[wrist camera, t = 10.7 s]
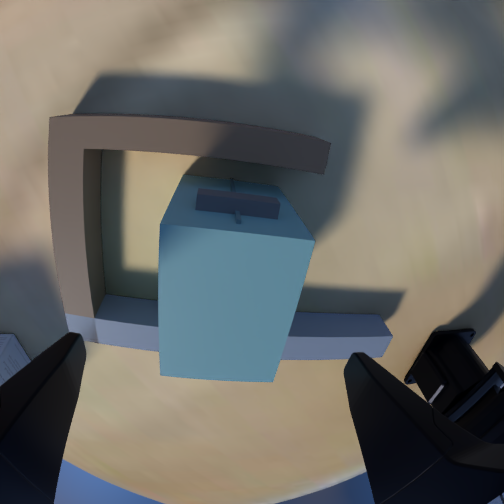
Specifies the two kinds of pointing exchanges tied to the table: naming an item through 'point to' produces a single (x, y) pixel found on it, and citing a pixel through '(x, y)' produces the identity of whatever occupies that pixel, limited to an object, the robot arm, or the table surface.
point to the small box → (11, 357)
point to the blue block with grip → (228, 279)
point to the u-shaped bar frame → (89, 225)
